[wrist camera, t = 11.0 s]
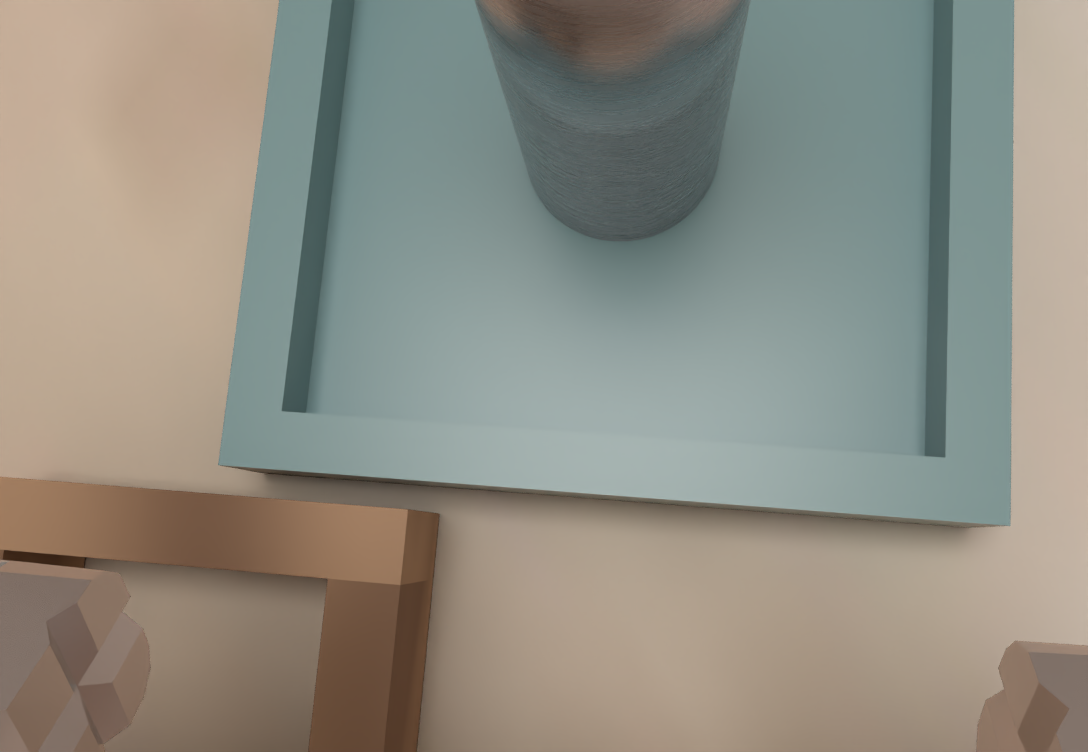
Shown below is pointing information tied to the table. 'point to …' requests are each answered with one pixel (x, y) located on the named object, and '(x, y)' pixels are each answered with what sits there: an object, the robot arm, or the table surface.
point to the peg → (617, 104)
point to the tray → (640, 275)
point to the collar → (278, 548)
